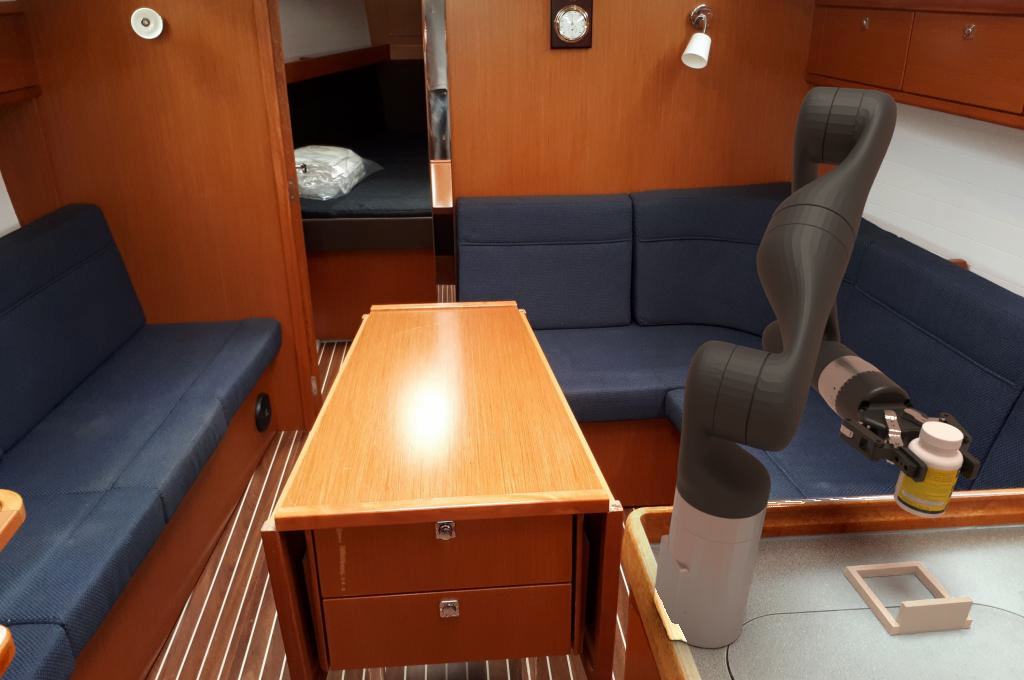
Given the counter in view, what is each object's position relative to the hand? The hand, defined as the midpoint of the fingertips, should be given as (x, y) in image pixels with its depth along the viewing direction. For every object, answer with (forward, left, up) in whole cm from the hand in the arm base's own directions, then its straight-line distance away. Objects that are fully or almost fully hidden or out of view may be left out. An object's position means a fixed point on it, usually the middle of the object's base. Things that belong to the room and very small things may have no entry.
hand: (948, 473), depth 79 cm
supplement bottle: (0, +3, -6) cm, 7 cm away
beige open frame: (0, 0, -18) cm, 18 cm away
